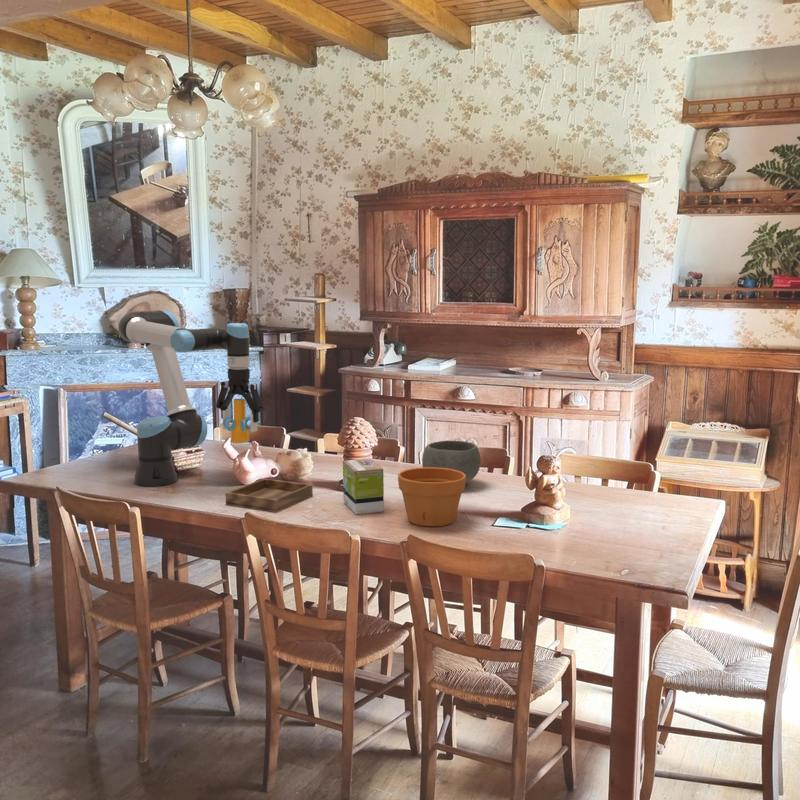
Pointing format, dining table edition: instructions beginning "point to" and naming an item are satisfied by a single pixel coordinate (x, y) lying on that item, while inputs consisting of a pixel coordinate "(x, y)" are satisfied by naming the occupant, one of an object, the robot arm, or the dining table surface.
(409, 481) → the flower pot
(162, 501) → the dining table surface
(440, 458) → the bowl
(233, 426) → the orange toy with wheels
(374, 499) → the tea box
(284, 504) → the tray
